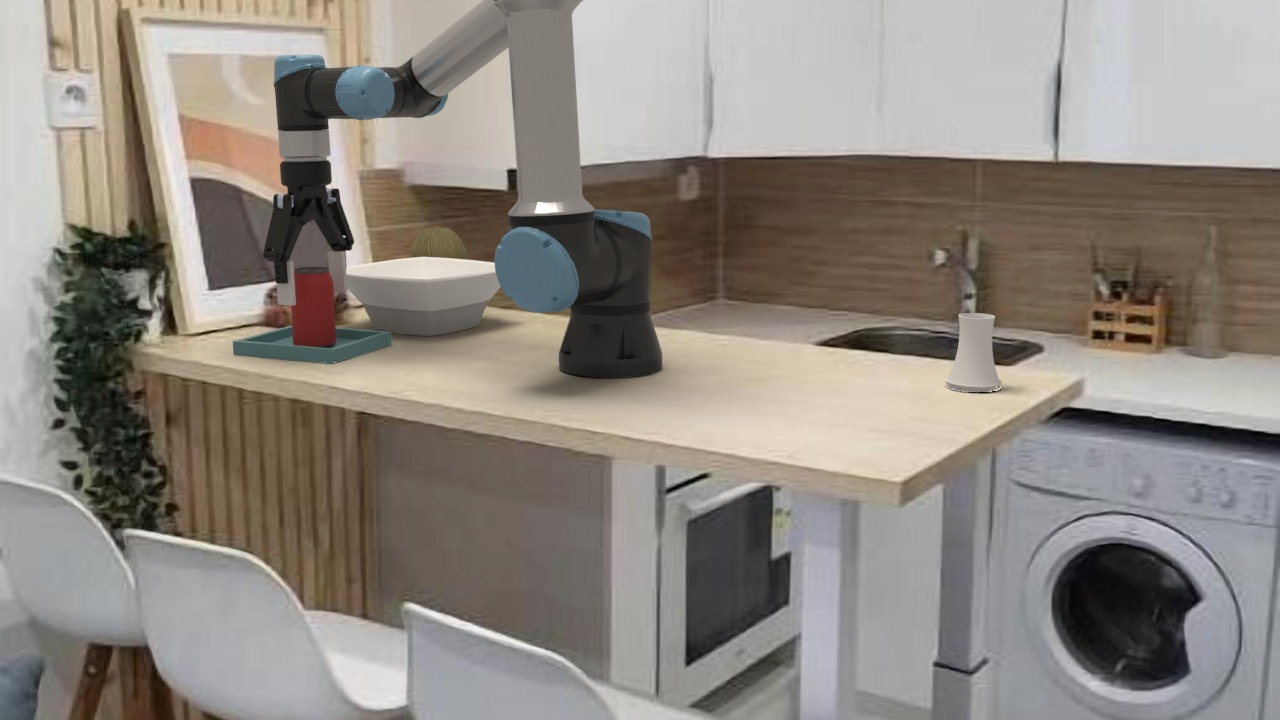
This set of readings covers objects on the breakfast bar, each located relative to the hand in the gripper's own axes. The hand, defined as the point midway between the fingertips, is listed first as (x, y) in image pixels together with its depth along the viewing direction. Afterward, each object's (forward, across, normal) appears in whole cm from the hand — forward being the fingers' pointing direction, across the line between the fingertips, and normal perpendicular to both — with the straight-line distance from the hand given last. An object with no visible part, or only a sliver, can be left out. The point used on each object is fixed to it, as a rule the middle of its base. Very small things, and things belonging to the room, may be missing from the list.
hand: (313, 298), depth 213 cm
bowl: (+8, -24, +5) cm, 26 cm away
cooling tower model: (+10, -12, +98) cm, 100 cm away
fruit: (+8, -44, -4) cm, 45 cm away
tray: (+8, 0, -1) cm, 8 cm away
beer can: (+8, 0, 0) cm, 8 cm away
